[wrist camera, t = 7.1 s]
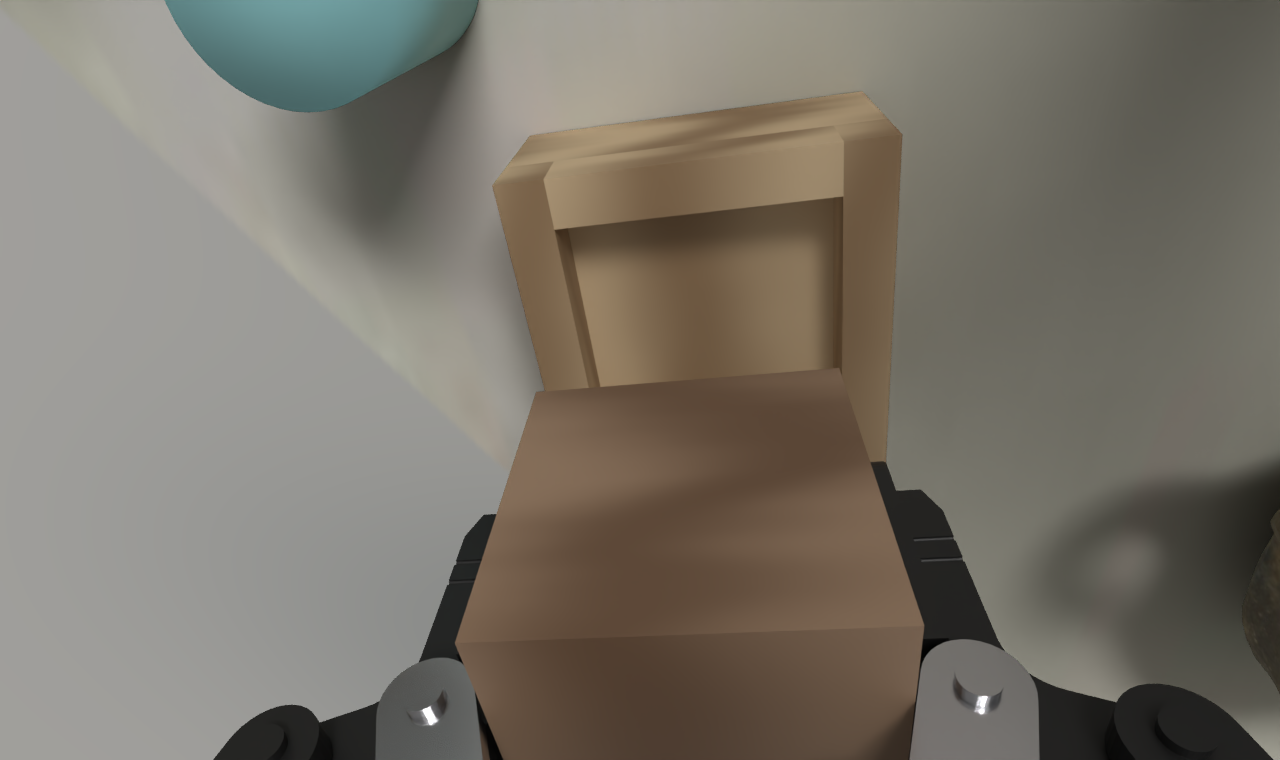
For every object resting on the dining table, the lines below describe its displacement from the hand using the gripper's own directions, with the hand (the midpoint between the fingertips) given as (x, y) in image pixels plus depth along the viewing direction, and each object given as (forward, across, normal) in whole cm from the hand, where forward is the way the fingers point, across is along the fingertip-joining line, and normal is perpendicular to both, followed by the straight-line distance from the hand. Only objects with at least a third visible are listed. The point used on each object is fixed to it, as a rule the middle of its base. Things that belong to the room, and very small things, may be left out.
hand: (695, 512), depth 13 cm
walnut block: (0, 0, 0) cm, 0 cm away
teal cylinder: (+11, +7, -9) cm, 16 cm away
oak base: (+11, 0, 0) cm, 11 cm away
